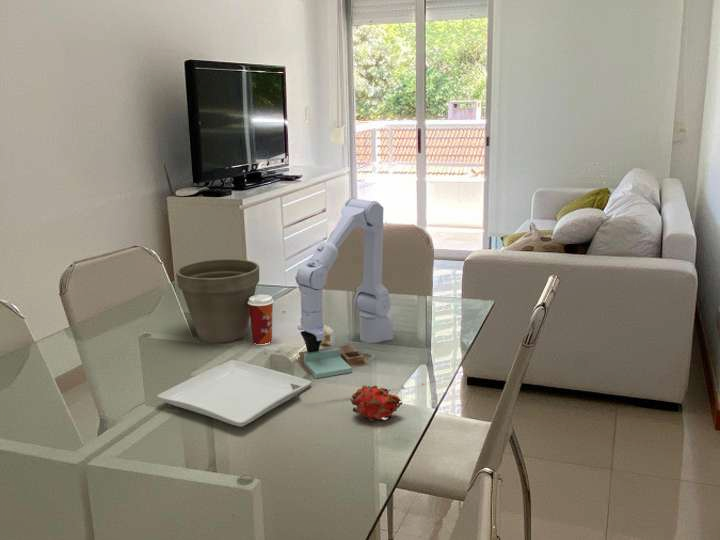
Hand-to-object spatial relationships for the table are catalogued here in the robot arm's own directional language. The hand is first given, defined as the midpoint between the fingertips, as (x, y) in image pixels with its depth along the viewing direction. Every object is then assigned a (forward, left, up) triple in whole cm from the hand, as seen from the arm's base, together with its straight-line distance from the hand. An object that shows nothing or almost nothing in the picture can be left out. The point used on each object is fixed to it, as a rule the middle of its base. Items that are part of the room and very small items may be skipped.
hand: (312, 356), depth 191 cm
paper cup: (+8, -24, -3) cm, 25 cm away
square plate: (+24, +12, -3) cm, 27 cm away
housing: (-5, 0, -3) cm, 6 cm away
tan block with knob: (-7, -13, -3) cm, 15 cm away
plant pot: (+18, -35, -3) cm, 39 cm away
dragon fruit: (-4, +34, -3) cm, 34 cm away
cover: (-2, +6, -1) cm, 7 cm away
